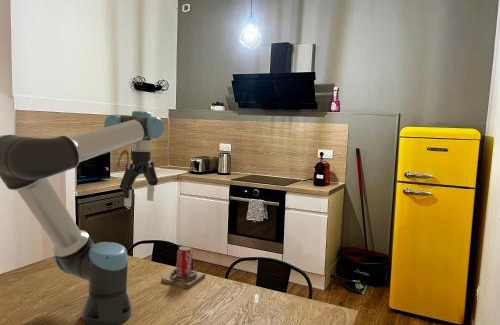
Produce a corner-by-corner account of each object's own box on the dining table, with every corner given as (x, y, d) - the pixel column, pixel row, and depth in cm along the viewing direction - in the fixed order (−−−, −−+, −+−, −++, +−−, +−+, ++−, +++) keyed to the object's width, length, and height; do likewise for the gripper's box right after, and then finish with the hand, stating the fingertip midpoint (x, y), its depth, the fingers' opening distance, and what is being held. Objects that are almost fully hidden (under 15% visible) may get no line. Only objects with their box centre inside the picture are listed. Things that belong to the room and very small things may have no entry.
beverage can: (193, 273, 156) (194, 246, 155) (189, 279, 150) (190, 251, 149) (178, 272, 157) (179, 245, 156) (174, 278, 151) (175, 249, 150)
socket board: (205, 277, 157) (205, 269, 157) (188, 288, 145) (189, 280, 145) (179, 271, 162) (179, 263, 162) (161, 281, 150) (161, 274, 150)
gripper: (153, 148, 159) (151, 197, 161) (110, 151, 136) (109, 207, 138) (167, 150, 156) (165, 199, 158) (126, 152, 133) (125, 210, 135)
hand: (139, 203), depth 148 cm, fingers open, 13 cm apart
